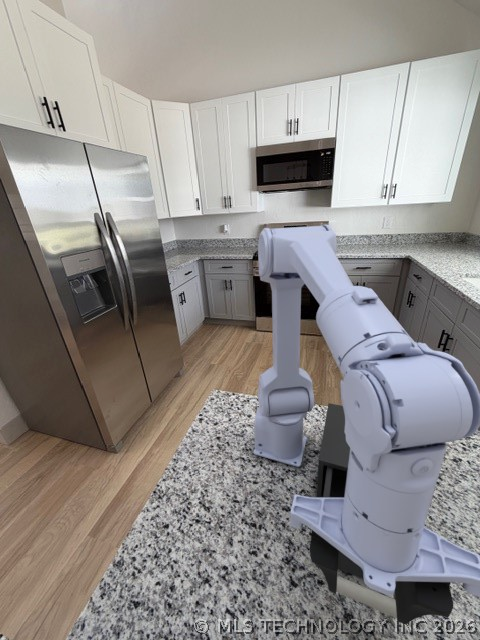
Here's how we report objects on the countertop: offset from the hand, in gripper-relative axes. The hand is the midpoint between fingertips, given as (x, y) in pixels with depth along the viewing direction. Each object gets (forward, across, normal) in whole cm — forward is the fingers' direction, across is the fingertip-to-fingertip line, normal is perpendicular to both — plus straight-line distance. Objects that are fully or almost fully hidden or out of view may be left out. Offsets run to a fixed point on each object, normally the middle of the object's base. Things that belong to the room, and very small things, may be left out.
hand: (365, 594), depth 26 cm
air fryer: (+10, 0, +22) cm, 25 cm away
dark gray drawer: (+10, 0, +11) cm, 14 cm away
